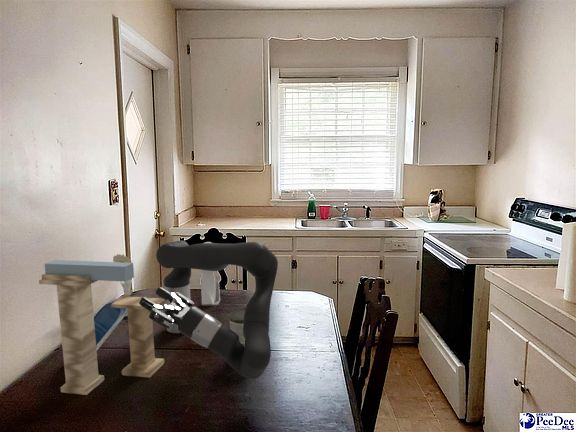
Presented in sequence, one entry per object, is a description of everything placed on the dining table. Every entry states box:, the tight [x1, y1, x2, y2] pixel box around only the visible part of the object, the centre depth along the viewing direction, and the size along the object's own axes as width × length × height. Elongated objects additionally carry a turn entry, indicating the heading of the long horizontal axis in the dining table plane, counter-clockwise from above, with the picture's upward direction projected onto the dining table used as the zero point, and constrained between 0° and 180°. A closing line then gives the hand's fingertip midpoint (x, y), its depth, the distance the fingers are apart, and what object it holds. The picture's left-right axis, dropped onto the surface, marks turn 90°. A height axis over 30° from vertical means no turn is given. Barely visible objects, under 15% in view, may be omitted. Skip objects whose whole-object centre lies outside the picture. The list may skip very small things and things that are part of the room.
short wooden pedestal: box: [111, 295, 166, 379], centre depth 131 cm, size 14×9×22 cm, turn 78°
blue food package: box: [94, 287, 137, 351], centre depth 139 cm, size 6×12×25 cm
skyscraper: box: [200, 241, 222, 307], centre depth 189 cm, size 8×8×28 cm
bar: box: [44, 259, 135, 282], centre depth 118 cm, size 24×4×4 cm, turn 79°
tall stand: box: [38, 273, 105, 396], centre depth 121 cm, size 14×9×33 cm, turn 78°
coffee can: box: [228, 308, 246, 346], centre depth 140 cm, size 10×10×14 cm
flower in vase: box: [112, 253, 133, 317], centre depth 179 cm, size 13×11×25 cm
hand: (149, 294), depth 115 cm, fingers open, 8 cm apart
